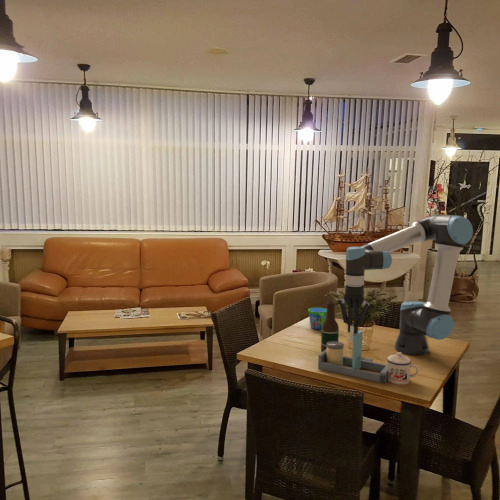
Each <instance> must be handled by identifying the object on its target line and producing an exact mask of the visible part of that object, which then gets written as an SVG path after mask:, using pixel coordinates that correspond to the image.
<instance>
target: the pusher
mask: <svg viewBox="0 0 500 500" xmlns="http://www.w3.org/2000/svg"><path fill="white" fill-rule="evenodd" d="M362 352H363V330H358V333H356V334H355V335H354V336H353V342H352V357H351V358H352V365H351V368H354V369H359V370H361V360H365V361H370V362H374V359H373V358H370V357H365V356H362V355H363V353H362Z"/></svg>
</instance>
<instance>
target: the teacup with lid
mask: <svg viewBox="0 0 500 500" xmlns="http://www.w3.org/2000/svg"><path fill="white" fill-rule="evenodd" d="M386 360H387V362H386V363H387V364H386V365H387V370H388V378H387V381H388V382H389V383H391V384H394V385H407V384H409V383H410V380H411V379H410V378H415V377H416V376H417V375H418V374H419V368H418V366H417V365H415V364H412V360H411V358H410V357H408V356H405V354H403V353H402V352H399V351H397V352H396V353H394V354H391V355H388V357H387V358H386ZM411 367H412V368H415V369H416V371H415V373H414V374H411Z"/></svg>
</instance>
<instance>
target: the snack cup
mask: <svg viewBox="0 0 500 500" xmlns="http://www.w3.org/2000/svg"><path fill="white" fill-rule="evenodd" d="M307 312H308V315H309V325H310V328H311V329H313V330H322V324H323V322H324V321H325V320H326V314H327V308H323V307H310V308H308V310H307Z"/></svg>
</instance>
